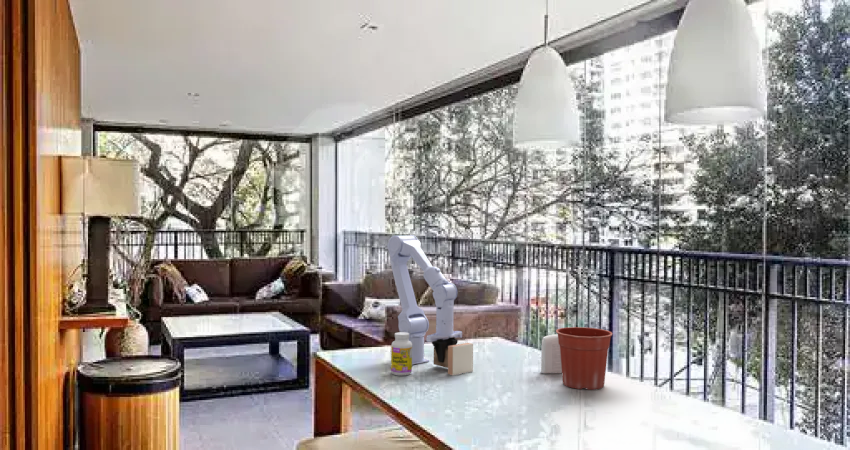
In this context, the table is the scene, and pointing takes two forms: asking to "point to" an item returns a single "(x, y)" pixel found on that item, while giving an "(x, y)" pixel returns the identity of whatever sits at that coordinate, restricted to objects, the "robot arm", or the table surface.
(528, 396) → the table surface
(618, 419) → the table surface
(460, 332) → the robot arm
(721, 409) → the table surface
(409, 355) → the supplement bottle
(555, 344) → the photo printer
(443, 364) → the bar
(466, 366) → the glazed tile
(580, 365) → the flower pot
